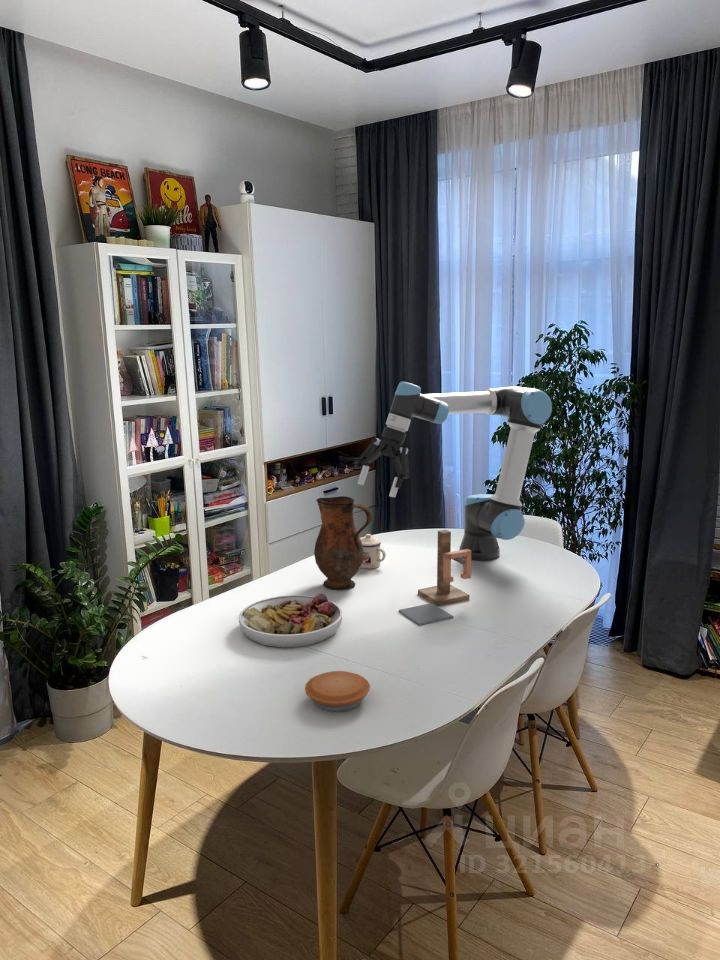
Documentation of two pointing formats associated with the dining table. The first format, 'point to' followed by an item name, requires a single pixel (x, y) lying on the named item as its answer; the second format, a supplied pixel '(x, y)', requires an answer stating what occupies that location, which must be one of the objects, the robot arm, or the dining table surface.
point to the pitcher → (339, 542)
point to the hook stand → (443, 590)
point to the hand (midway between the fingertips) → (375, 490)
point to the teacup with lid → (371, 552)
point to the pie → (337, 690)
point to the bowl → (291, 620)
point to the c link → (447, 564)
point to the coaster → (425, 614)
